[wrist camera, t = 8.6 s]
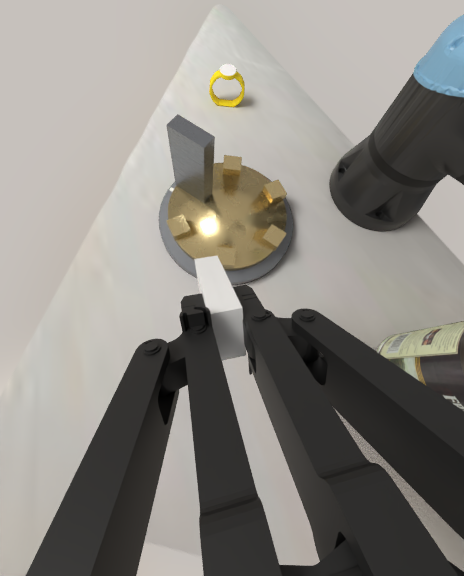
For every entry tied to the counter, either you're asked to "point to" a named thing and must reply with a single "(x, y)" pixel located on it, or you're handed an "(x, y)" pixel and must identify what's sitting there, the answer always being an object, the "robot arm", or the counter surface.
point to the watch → (228, 74)
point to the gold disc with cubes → (221, 202)
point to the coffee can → (431, 358)
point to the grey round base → (233, 276)
